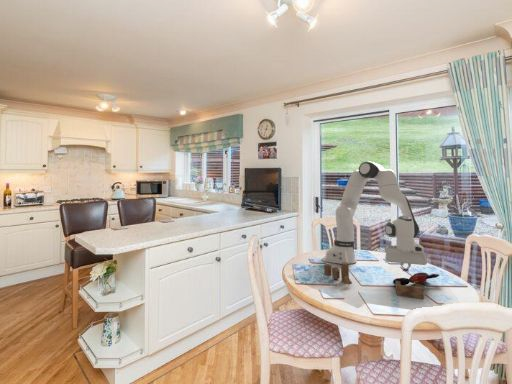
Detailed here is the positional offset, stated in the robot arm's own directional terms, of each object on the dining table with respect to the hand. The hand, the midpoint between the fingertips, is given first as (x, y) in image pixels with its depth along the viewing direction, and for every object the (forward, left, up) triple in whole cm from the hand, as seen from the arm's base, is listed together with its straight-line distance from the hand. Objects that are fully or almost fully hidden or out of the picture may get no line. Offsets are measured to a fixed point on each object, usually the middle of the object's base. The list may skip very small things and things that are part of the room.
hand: (405, 271), depth 151 cm
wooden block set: (-34, -12, -6) cm, 36 cm away
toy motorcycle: (0, +1, -6) cm, 6 cm away
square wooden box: (0, -17, -6) cm, 18 cm away
